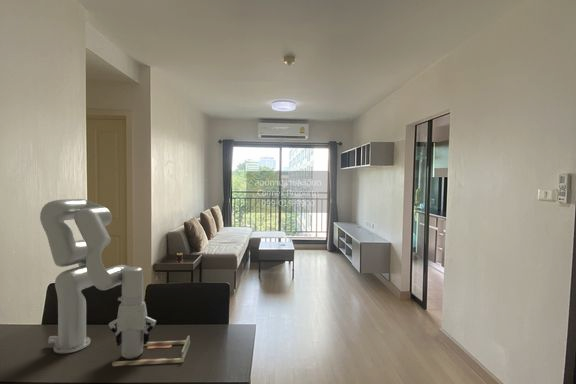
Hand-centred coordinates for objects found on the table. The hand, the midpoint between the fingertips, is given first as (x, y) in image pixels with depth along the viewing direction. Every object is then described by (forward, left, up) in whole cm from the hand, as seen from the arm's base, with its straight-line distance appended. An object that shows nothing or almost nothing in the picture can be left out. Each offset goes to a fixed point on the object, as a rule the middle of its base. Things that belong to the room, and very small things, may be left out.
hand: (132, 343), depth 126 cm
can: (0, 0, -5) cm, 5 cm away
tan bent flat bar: (+8, 0, -5) cm, 9 cm away
